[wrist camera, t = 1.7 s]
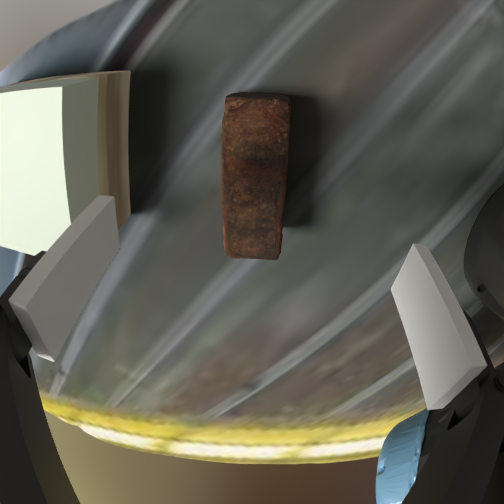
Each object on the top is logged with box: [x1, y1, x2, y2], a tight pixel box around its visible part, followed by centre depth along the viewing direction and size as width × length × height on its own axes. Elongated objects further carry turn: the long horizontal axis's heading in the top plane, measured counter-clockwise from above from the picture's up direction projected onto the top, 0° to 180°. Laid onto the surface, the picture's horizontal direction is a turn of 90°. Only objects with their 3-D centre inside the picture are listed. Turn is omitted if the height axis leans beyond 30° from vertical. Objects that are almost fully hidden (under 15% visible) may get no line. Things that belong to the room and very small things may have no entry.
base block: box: [7, 71, 131, 230], centre depth 20 cm, size 12×12×4 cm
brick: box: [221, 92, 291, 260], centre depth 20 cm, size 11×4×5 cm, turn 179°
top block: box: [0, 78, 99, 256], centre depth 17 cm, size 10×12×4 cm
